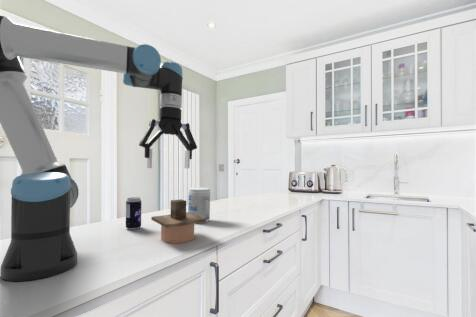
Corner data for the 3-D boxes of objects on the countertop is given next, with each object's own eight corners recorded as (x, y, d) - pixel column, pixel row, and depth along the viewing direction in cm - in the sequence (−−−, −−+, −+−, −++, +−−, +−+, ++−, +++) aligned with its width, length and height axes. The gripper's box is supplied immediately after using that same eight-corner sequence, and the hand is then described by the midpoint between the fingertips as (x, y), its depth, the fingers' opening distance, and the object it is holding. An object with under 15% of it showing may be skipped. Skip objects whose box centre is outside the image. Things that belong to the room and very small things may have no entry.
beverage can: (135, 230, 100) (136, 199, 100) (122, 229, 101) (122, 198, 101) (143, 227, 105) (144, 197, 105) (131, 226, 106) (131, 196, 106)
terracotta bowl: (169, 244, 83) (169, 226, 83) (156, 236, 92) (157, 219, 92) (199, 238, 90) (199, 221, 90) (185, 231, 98) (185, 216, 99)
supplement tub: (183, 222, 114) (183, 188, 114) (196, 218, 122) (196, 186, 123) (201, 224, 110) (201, 189, 110) (214, 220, 118) (214, 187, 118)
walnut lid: (166, 227, 81) (166, 205, 81) (151, 219, 92) (151, 199, 92) (205, 221, 89) (206, 201, 89) (187, 214, 100) (187, 196, 101)
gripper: (136, 100, 82) (134, 168, 81) (206, 111, 96) (205, 168, 96) (130, 104, 88) (128, 167, 87) (197, 114, 102) (196, 168, 102)
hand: (168, 168), depth 92 cm, fingers open, 13 cm apart
